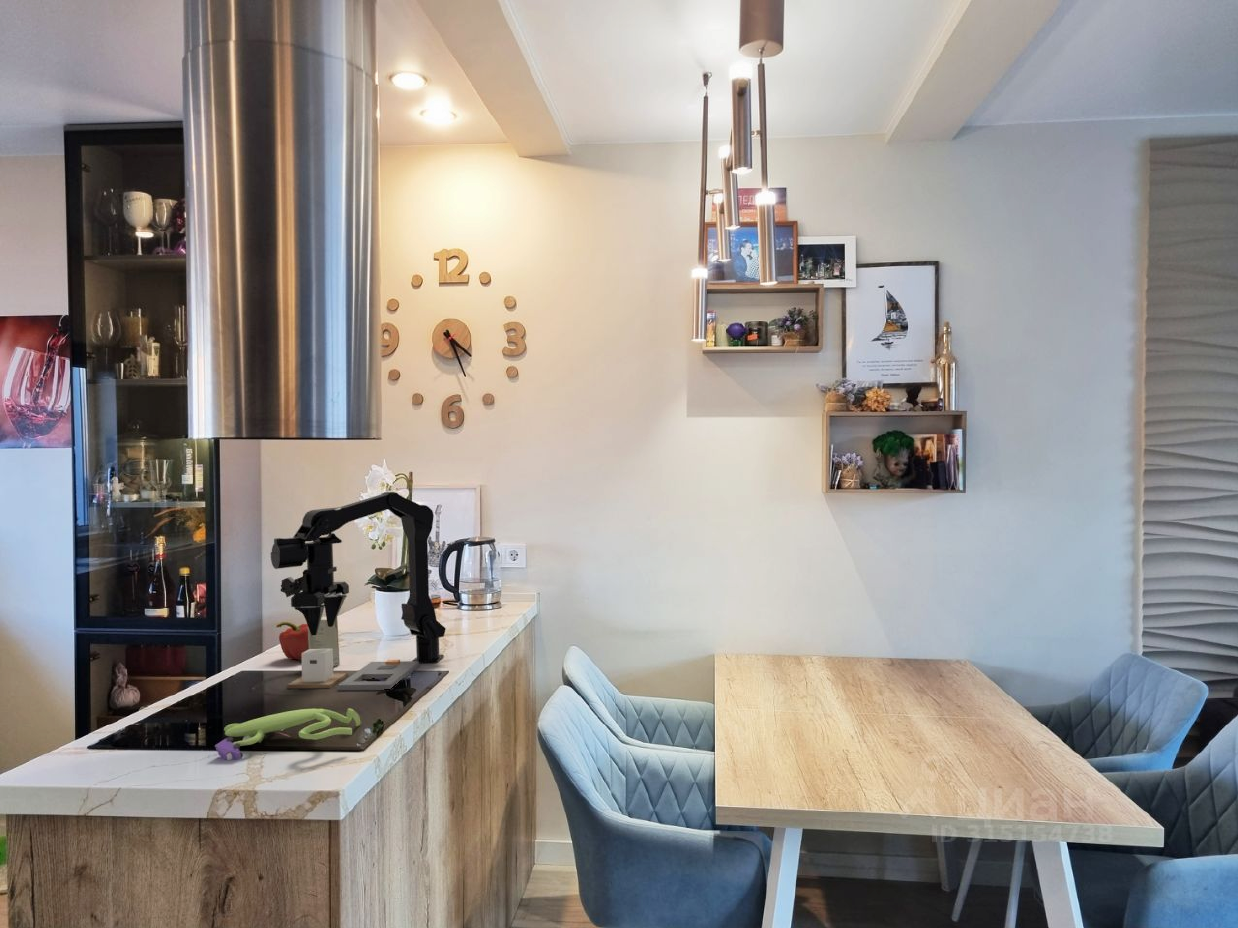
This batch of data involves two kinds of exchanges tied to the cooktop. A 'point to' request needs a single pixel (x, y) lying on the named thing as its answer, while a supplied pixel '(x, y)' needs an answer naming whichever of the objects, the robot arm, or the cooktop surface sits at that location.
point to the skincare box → (326, 639)
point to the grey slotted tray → (379, 675)
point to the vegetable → (294, 640)
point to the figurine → (282, 728)
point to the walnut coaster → (322, 684)
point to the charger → (317, 665)
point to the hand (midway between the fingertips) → (322, 630)
